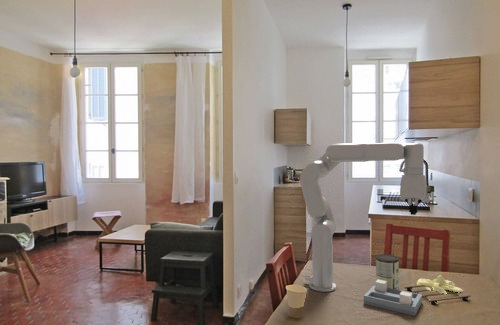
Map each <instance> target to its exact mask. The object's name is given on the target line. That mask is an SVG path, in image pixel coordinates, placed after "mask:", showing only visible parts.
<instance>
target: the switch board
mask: <svg viewBox="0 0 500 325" xmlns="http://www.w3.org/2000/svg"><path fill="white" fill-rule="evenodd" d="M402 291H404V292H409V293H412V305H411V306H410V305H406V304H401V303H399V298H400V293H401V292H402ZM363 304H364V305H368V306H372V307H374V308H375V307H376V308H381V309H384V310H389V311H393V312H397V313H402V314H406V315H410V316H413V317H415V316H416V315H417V313H418V311H419V309H420V307H421V306H422V304H423V294H421V293H416V292H411V291H407V290H402V289H393V288H388V287H387V292H383V291H378V290H375V284H373V285H372V286H371V288H370V289H368V291H366V293H365V294H364V295H363Z"/></svg>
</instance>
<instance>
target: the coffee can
mask: <svg viewBox="0 0 500 325" xmlns="http://www.w3.org/2000/svg"><path fill="white" fill-rule="evenodd" d="M399 262H400V258H399V257H398V256H396V255H394V254H385V253H384V254H377V255H376V256H375V282H376V281H377V280H378V279H379V280H384V281H387V287H388V288H393V289H398V290H400V288H399V287H400V286H399V285H400V284H399V282H400V280H399V279H400V278H399V277H400V276H399V273H400V272H399V270H400V269H399V265H400V264H399Z"/></svg>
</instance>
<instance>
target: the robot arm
mask: <svg viewBox="0 0 500 325" xmlns="http://www.w3.org/2000/svg"><path fill="white" fill-rule="evenodd" d="M424 147H425V146H424V144H423V143H419V142H411V143H398V142H380V143H379V142H378V143H377V142H375V143H368V142H367V143H366V142H355V143H354V142H352V143H349V142H348V143H346V142H345V143H331V144H329V145H328V146H327V147H326V149H325V152H324V153H323V155H322V156H320V157H319V158H318V159H317V160H313V161H311V162H309V163H308V164H306V165H305V166H304V168H303V169H302V171H301V173H300V177H299V180H300V181H299V184H300V186H301V190H302V195H303V199H304V204H305V206H306V210H307V214H308V215H309V217H311V218H312V219H314V224H313V226H312V228H311V234H310V235H311V244H312V245H311V247H312V248H311V249H312V252H311V253H312V254H311V257H312V258H311V259H312V261H311V262H312V264H311V268H312V272H311V273H312V274H311V275H310V274H304V275H305V276H304V278H305V281H309V283H308V287H309V289H312V290H313V291H317V292H323V293H325V292H326V293H329V292H333V291H336V289H337V284H336V283H335V282H334V280H333V279H334V273H333V272H334V271H333V270H334V254H333V251H334V249H333V248H334V246H333V235H334V233H335V232H336V222H335V218H334V214H333V212H332V207H331V205H330V203H329V200H328V199H326V198H325V197H324V196H323V194H322V191H321V187H320V184H319V181H320V180H319V179H321V178H324V177H326V176H327V175H328V174H330V172H332V171H333V170H334V169H335V168H337V166H338V165H339V164H340V163H351V162H352V163H353V162H355V163H357V162H358V163H359V162H361V163H362V162H363V163H365V162H374V161H375V162H376V161H377V162H381V161H385V162H386V161H388V162H389V161H398V160H399V161H400V160H403V162H404V163H403V164H404V165H403V166H404V167H403V168H401V169H400V173H403V174H402V175H401V179H400V188H399V196H400V197H399V199H400V200H401V201H403V202H405V203H407V204H408V206H409V211H408V212H409V213H410V215H411V216H416V215H417V214H418V209H419V208H418V206H419V205H420V204H421V203H425V202H427V201H428V197H427V196H428V187H427V178H426V175H425V174H424V165H425V164H424V163H425V162H424V160H425V159H424V156H425V155H424V153H425V152H424V151H425V150H424V149H425V148H424ZM413 200H414V203H413Z"/></svg>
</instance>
